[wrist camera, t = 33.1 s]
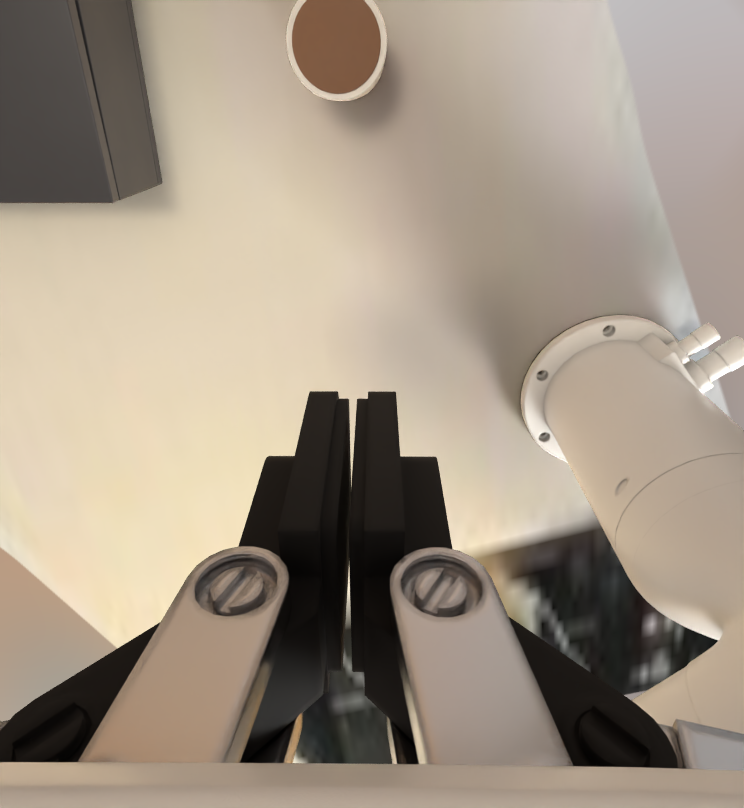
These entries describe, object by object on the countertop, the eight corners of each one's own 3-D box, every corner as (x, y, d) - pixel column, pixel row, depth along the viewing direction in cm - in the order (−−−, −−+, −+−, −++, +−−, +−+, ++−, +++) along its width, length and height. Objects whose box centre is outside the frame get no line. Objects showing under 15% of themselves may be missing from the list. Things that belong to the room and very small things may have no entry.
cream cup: (349, -13, 31) (340, -50, 23) (400, 61, 32) (408, 50, 25) (290, 50, 32) (263, 35, 25) (342, 118, 34) (332, 123, 26)
